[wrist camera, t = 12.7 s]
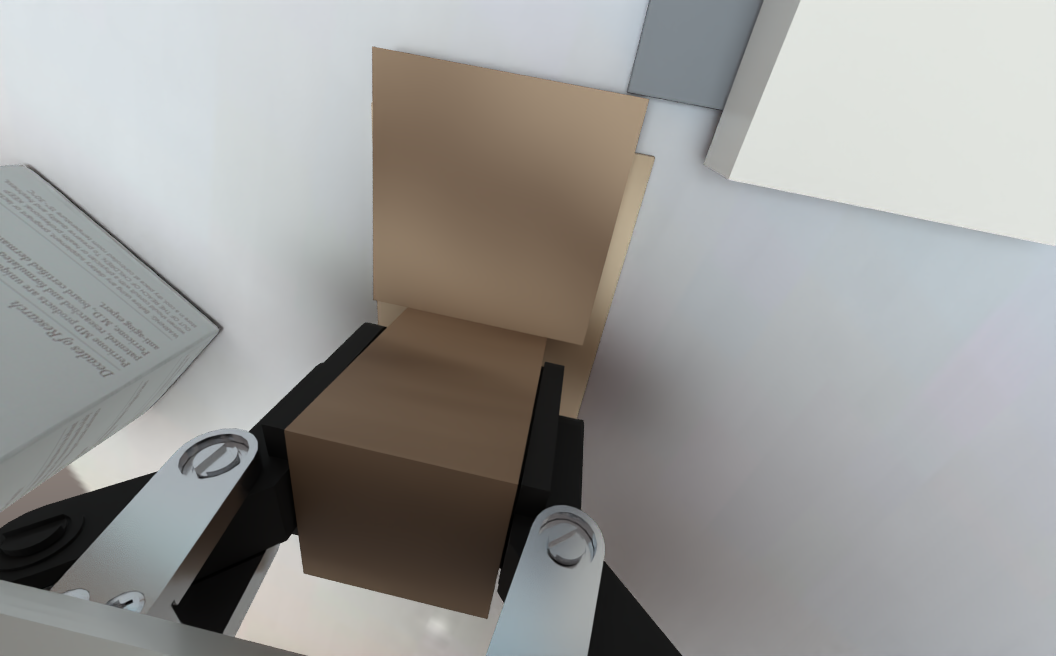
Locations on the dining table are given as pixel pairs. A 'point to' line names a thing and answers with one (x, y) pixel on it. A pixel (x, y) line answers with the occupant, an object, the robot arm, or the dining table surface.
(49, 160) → the dining table surface
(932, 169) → the tile
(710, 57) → the mat
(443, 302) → the wooden block stack
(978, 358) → the dining table surface
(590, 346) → the pad
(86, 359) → the supplement box
